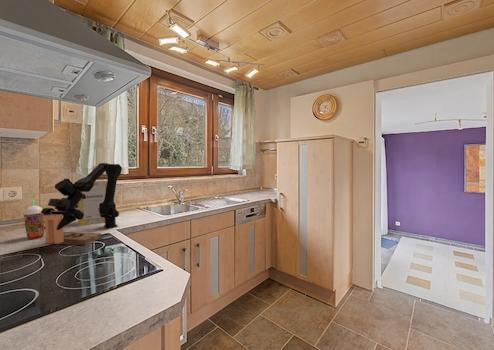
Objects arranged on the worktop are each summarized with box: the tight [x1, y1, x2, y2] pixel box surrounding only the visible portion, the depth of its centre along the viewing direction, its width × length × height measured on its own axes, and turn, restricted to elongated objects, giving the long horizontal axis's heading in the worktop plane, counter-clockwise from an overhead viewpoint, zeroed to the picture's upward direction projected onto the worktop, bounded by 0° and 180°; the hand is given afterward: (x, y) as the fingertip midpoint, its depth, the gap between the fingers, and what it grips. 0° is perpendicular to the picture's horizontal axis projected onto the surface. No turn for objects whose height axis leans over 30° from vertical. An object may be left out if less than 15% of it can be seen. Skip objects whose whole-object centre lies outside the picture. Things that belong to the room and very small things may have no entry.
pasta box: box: [77, 179, 108, 227], centre depth 150 cm, size 18×10×28 cm, turn 125°
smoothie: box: [23, 199, 45, 240], centre depth 119 cm, size 8×8×20 cm
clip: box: [44, 214, 64, 245], centre depth 105 cm, size 3×6×13 cm, turn 82°
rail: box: [51, 231, 102, 246], centre depth 115 cm, size 10×22×2 cm, turn 82°
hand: (51, 229), depth 103 cm, fingers closed on clip, 6 cm apart
